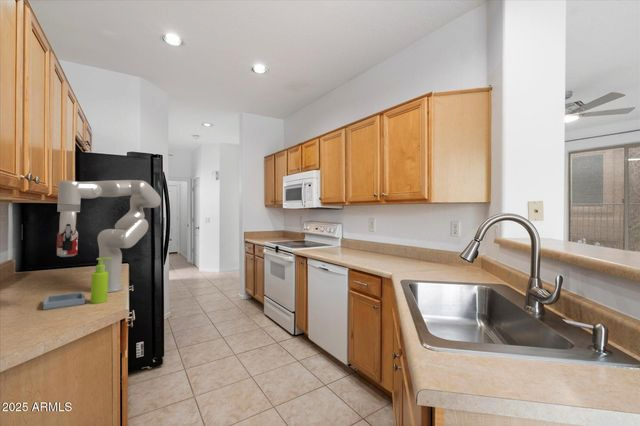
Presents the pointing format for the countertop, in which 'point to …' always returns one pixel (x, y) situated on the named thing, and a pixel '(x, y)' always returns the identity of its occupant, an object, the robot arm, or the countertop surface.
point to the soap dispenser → (99, 283)
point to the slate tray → (64, 300)
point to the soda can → (60, 243)
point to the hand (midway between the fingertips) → (67, 248)
